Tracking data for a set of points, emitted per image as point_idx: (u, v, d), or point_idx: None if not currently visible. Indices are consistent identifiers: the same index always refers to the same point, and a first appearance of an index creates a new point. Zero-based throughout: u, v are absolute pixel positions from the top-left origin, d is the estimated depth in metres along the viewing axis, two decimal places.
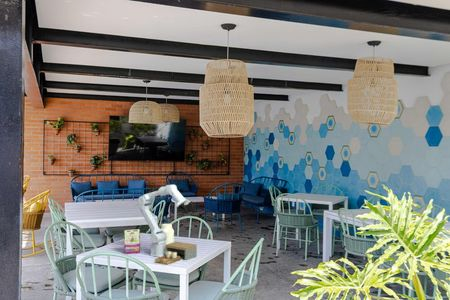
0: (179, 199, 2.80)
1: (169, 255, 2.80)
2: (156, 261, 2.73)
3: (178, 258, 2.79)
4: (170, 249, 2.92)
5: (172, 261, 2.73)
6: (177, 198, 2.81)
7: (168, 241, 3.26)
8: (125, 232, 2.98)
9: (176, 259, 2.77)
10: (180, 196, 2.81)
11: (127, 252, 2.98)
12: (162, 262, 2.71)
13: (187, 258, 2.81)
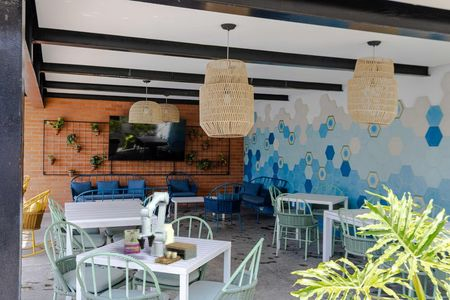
0: (145, 231, 2.70)
1: (169, 255, 2.80)
2: (156, 261, 2.73)
3: (178, 258, 2.79)
4: (170, 249, 2.92)
5: (172, 261, 2.73)
6: (144, 228, 2.70)
7: (168, 241, 3.26)
8: (125, 232, 2.98)
9: (176, 259, 2.77)
10: (147, 229, 2.70)
11: (127, 252, 2.98)
12: (162, 262, 2.71)
13: (187, 258, 2.81)
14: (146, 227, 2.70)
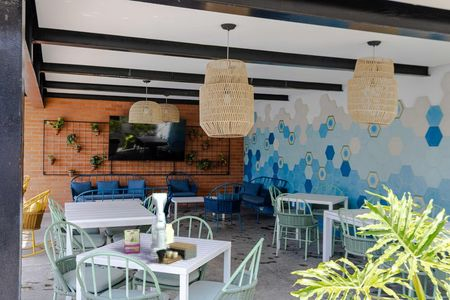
0: (159, 244, 2.69)
1: (170, 255, 2.81)
2: (157, 261, 2.74)
3: (179, 258, 2.80)
4: (170, 249, 2.92)
5: (173, 261, 2.74)
6: (158, 242, 2.69)
7: (168, 241, 3.26)
8: (125, 232, 2.98)
9: (177, 259, 2.78)
10: (162, 242, 2.69)
11: (127, 252, 2.98)
12: (163, 262, 2.71)
13: (187, 258, 2.81)
14: (163, 240, 2.69)
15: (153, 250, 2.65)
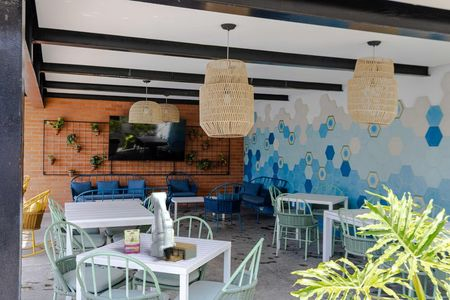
0: (166, 242, 2.74)
1: (176, 253, 2.87)
2: (164, 258, 2.80)
3: None
4: None
5: (179, 258, 2.80)
6: (166, 240, 2.75)
7: None
8: (125, 232, 2.98)
9: (183, 256, 2.84)
10: (169, 240, 2.75)
11: (127, 252, 2.98)
12: (170, 259, 2.77)
13: (187, 258, 2.81)
14: (171, 238, 2.76)
15: (160, 248, 2.71)
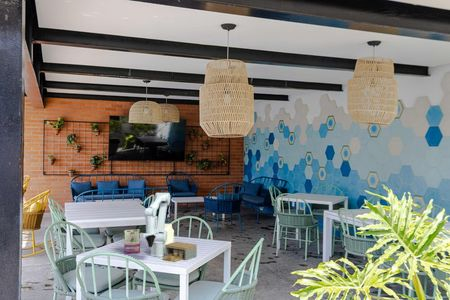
0: (149, 230, 2.73)
1: (176, 253, 2.87)
2: (164, 258, 2.80)
3: None
4: (170, 249, 2.92)
5: (179, 258, 2.80)
6: (148, 227, 2.73)
7: (168, 241, 3.26)
8: (125, 232, 2.98)
9: (183, 256, 2.84)
10: (152, 228, 2.74)
11: (127, 252, 2.98)
12: (170, 259, 2.77)
13: (187, 258, 2.81)
14: (150, 226, 2.73)
15: (142, 235, 2.70)
